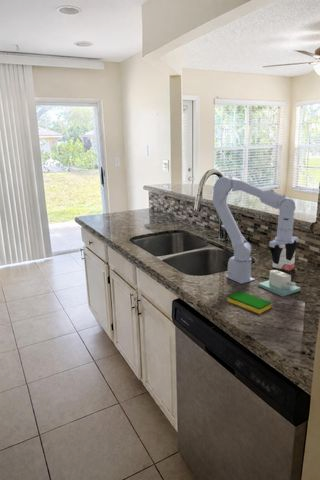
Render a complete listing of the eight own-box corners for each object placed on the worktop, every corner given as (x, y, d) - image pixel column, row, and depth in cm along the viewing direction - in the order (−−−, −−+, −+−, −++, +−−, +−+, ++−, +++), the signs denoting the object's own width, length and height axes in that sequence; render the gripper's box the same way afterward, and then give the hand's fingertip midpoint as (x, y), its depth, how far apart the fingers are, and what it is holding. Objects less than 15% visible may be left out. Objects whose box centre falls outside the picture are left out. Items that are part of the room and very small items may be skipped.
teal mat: (258, 286, 139) (258, 283, 139) (275, 280, 144) (275, 278, 144) (282, 296, 129) (283, 293, 129) (300, 290, 134) (300, 287, 134)
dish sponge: (238, 296, 131) (239, 290, 131) (271, 308, 121) (271, 302, 120) (226, 301, 127) (226, 295, 126) (259, 314, 117) (259, 308, 116)
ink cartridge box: (294, 268, 158) (297, 237, 154) (289, 271, 155) (292, 239, 151) (276, 264, 164) (278, 234, 160) (271, 267, 160) (274, 236, 157)
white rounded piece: (266, 282, 139) (267, 271, 138) (273, 280, 141) (274, 269, 140) (289, 292, 130) (290, 279, 129) (296, 289, 132) (297, 277, 131)
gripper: (280, 233, 128) (278, 267, 132) (305, 228, 136) (302, 260, 139) (266, 229, 134) (263, 262, 138) (290, 224, 142) (288, 256, 145)
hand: (282, 261), depth 139 cm, fingers open, 7 cm apart
